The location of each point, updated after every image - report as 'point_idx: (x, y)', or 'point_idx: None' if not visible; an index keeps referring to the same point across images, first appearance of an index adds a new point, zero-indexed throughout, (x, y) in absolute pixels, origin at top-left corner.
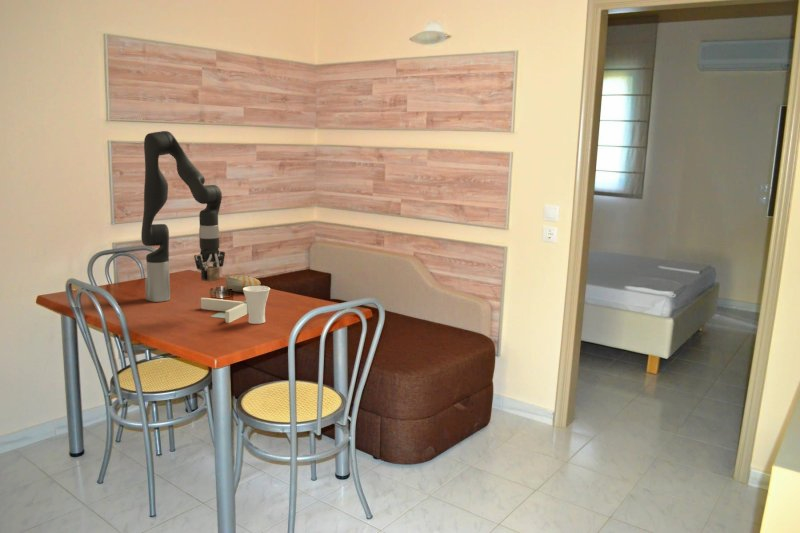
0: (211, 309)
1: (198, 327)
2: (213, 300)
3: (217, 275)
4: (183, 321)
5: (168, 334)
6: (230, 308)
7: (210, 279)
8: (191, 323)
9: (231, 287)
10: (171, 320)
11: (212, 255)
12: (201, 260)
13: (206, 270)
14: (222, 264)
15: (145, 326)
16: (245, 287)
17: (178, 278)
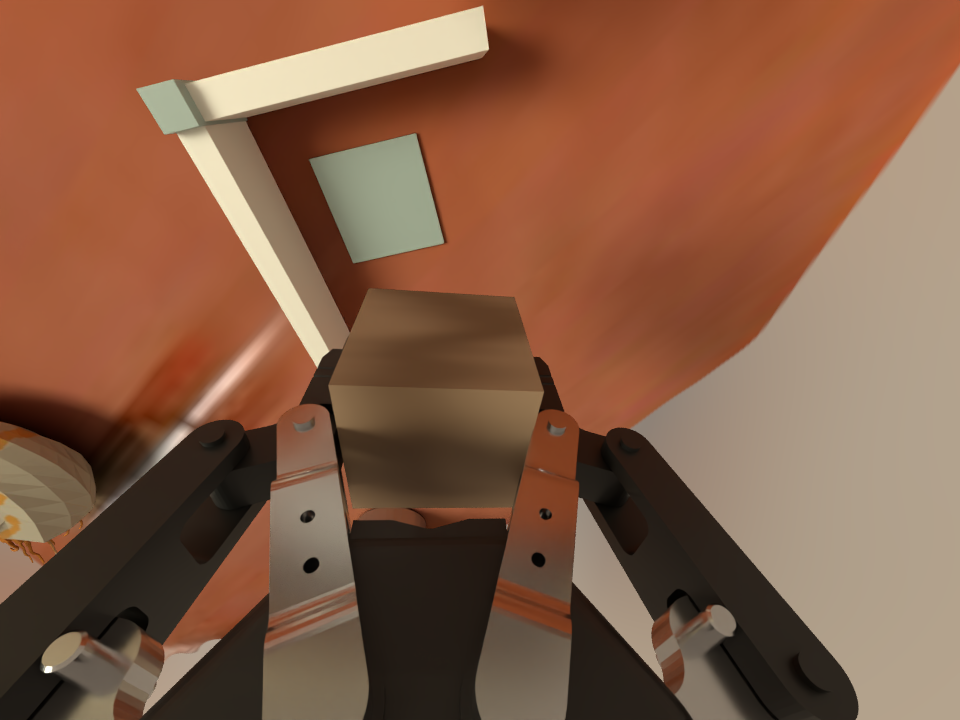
0: (347, 330)
1: (643, 136)
2: (329, 347)
3: (394, 319)
4: (573, 288)
5: (802, 176)
6: (288, 230)
7: (509, 308)
8: (587, 231)
9: (82, 470)
10: (580, 337)
11: (399, 687)
12: (710, 580)
13: (543, 414)
14: (197, 446)
15: (692, 348)
16: None
17: (199, 618)
